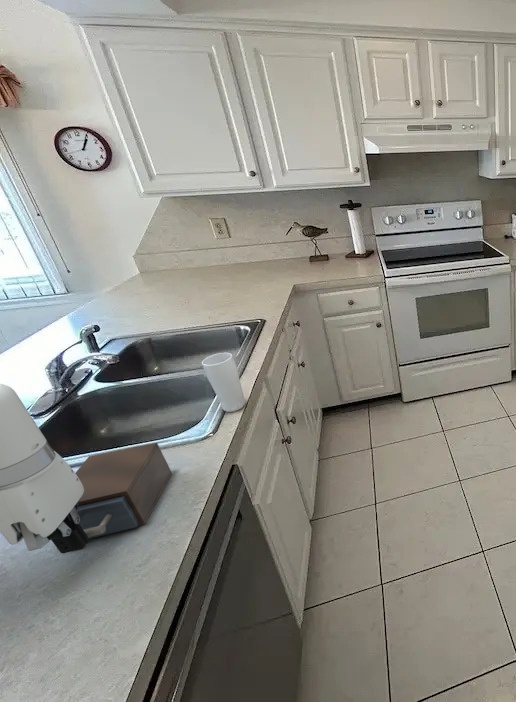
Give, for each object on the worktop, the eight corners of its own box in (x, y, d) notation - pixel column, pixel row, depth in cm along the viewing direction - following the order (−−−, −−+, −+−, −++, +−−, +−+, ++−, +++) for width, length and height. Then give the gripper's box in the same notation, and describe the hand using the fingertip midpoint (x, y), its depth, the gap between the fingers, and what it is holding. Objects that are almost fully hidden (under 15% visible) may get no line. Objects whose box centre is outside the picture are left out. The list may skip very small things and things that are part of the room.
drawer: (127, 545, 72) (110, 518, 69) (53, 563, 70) (33, 536, 67) (163, 478, 87) (150, 453, 84) (103, 491, 84) (88, 466, 81)
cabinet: (145, 524, 77) (126, 491, 74) (69, 542, 74) (45, 509, 70) (172, 473, 89) (157, 442, 85) (107, 487, 86) (89, 456, 82)
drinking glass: (254, 402, 112) (238, 355, 106) (231, 417, 106) (212, 367, 100) (238, 397, 115) (221, 350, 108) (214, 411, 109) (195, 362, 103)
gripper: (22, 436, 66) (76, 516, 74) (-62, 510, 53) (14, 598, 61) (78, 427, 68) (125, 506, 76) (10, 496, 55) (76, 582, 63)
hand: (76, 547), depth 68 cm, fingers closed
